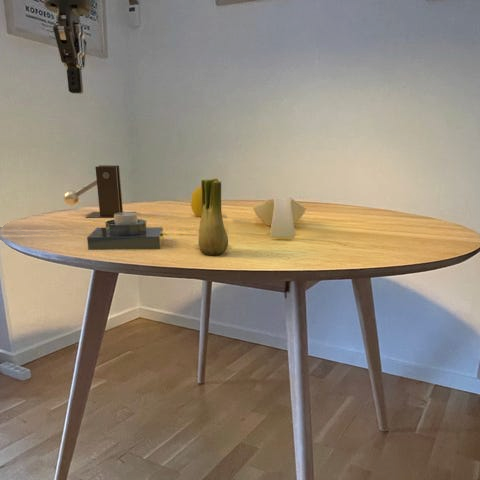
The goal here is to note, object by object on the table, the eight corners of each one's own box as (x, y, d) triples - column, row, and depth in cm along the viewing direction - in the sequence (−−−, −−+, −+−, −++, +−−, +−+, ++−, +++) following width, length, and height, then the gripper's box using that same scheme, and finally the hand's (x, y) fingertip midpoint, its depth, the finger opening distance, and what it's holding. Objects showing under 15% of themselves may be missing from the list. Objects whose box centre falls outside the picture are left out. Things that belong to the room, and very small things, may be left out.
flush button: (112, 225, 80) (112, 215, 80) (116, 222, 84) (115, 212, 83) (136, 225, 81) (135, 215, 80) (139, 221, 84) (138, 212, 84)
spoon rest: (252, 219, 110) (253, 188, 108) (302, 220, 110) (304, 189, 108) (252, 239, 88) (253, 201, 86) (315, 241, 88) (317, 202, 86)
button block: (88, 250, 79) (85, 226, 77) (98, 239, 87) (96, 217, 86) (160, 249, 80) (158, 225, 79) (163, 238, 88) (162, 217, 87)
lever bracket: (86, 222, 104) (80, 166, 100) (93, 216, 111) (88, 164, 107) (132, 222, 105) (128, 167, 100) (136, 216, 112) (132, 165, 108)
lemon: (199, 218, 112) (198, 183, 109) (219, 220, 109) (219, 184, 106) (186, 221, 107) (185, 185, 104) (207, 223, 105) (207, 186, 102)
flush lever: (68, 208, 105) (59, 196, 104) (71, 206, 108) (62, 194, 107) (116, 178, 103) (108, 165, 102) (118, 177, 106) (110, 164, 105)
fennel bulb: (199, 249, 80) (197, 176, 76) (227, 249, 80) (228, 177, 76) (197, 257, 75) (196, 179, 70) (228, 257, 75) (228, 180, 71)
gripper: (53, -12, 83) (64, 95, 90) (28, -38, 71) (43, 88, 77) (96, -10, 84) (104, 96, 90) (79, -35, 72) (89, 90, 78)
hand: (76, 93), depth 84 cm, fingers closed
